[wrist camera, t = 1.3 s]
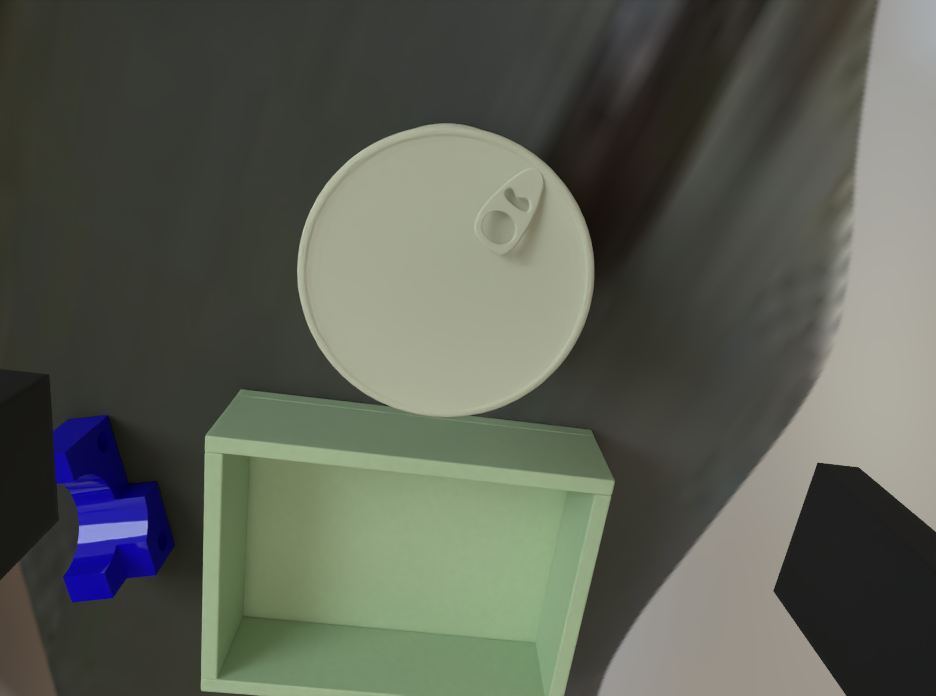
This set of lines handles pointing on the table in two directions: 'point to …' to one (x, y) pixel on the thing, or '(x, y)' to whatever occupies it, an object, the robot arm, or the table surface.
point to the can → (445, 271)
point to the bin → (394, 550)
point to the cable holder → (108, 512)
